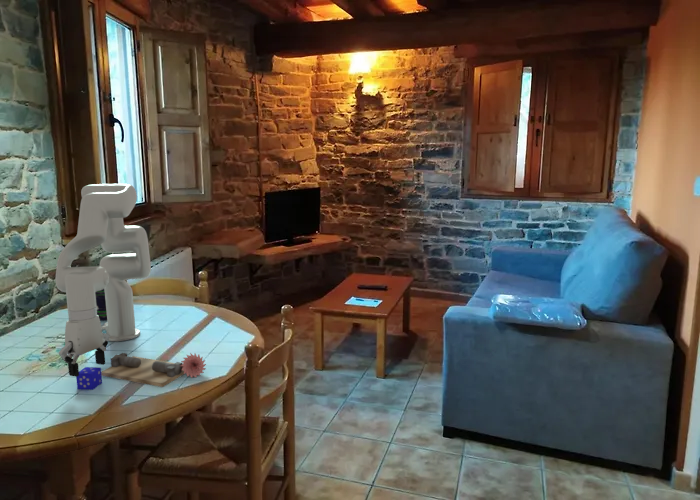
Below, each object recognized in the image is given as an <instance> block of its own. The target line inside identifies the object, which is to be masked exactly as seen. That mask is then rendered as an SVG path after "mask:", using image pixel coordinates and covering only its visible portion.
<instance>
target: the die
mask: <svg viewBox="0 0 700 500" xmlns="http://www.w3.org/2000/svg"><path fill="white" fill-rule="evenodd" d="M101 371H102V368H101V367H92V366H91V367H90V366H85V367H84V368H82V369H80V370H79V376H77V377H75V380H76V388H77V390H83V391H84V390H88V391H89V390H90V391H93V390H95V389H96V388H98V387H99V386H100V385H102V384H103V376H102V375H101Z"/></svg>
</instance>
